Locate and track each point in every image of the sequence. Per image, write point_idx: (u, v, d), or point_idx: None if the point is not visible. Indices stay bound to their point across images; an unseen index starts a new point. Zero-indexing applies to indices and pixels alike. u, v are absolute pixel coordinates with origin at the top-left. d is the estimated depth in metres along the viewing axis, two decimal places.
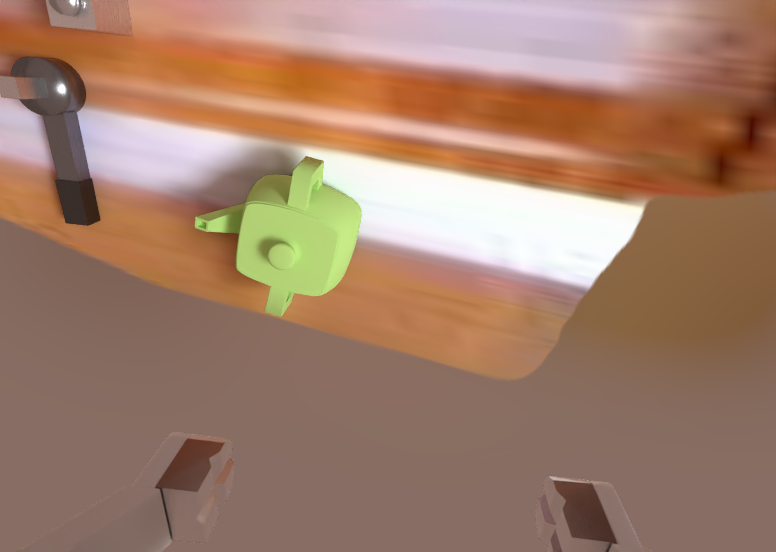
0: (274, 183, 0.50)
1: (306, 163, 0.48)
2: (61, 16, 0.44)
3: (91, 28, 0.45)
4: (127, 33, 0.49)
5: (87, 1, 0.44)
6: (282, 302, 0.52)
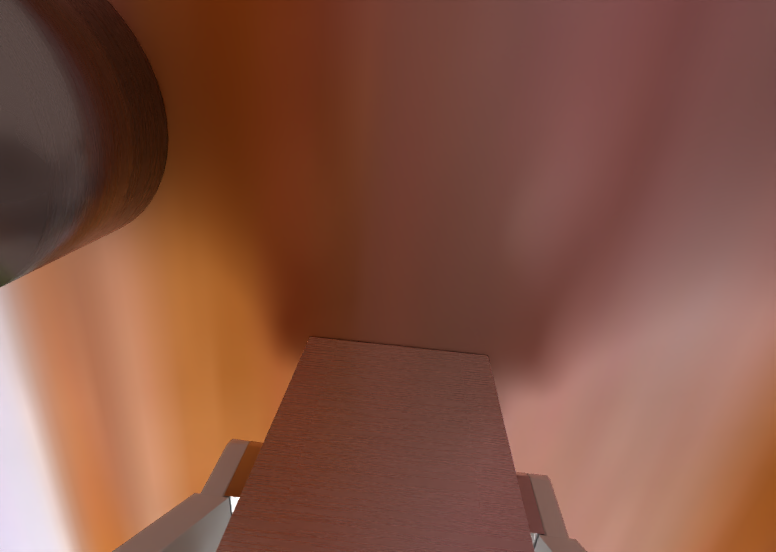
0: None
1: None
2: None
3: None
4: None
5: None
6: None
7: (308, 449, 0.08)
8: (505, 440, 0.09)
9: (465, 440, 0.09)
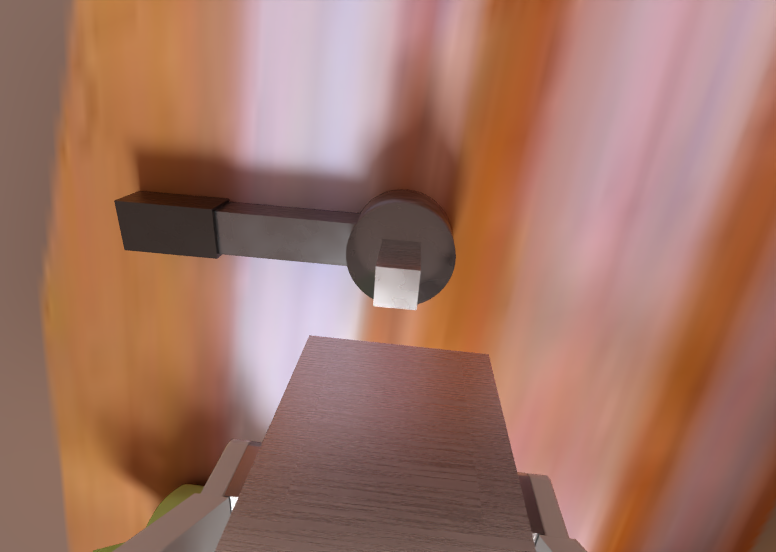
0: None
1: None
2: None
3: None
4: None
5: None
6: None
7: (308, 448, 0.08)
8: (506, 439, 0.09)
9: (466, 439, 0.09)
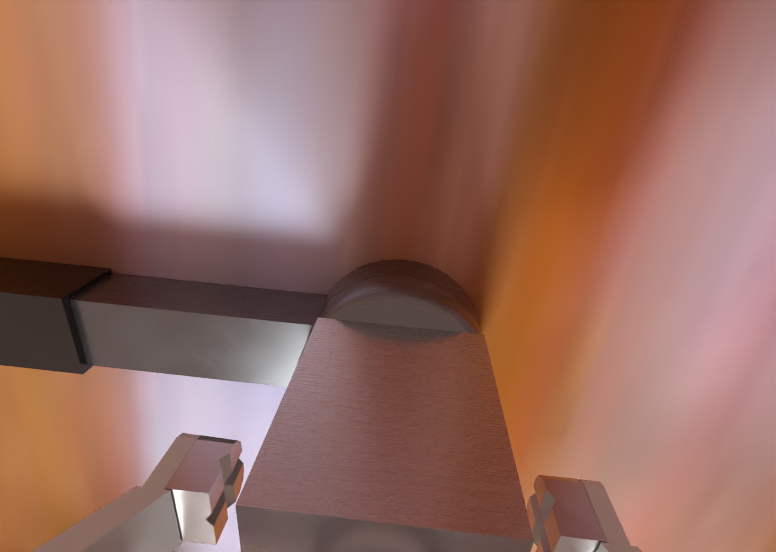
0: None
1: None
2: None
3: None
4: None
5: None
6: None
7: (319, 412, 0.09)
8: (499, 406, 0.10)
9: (462, 405, 0.10)
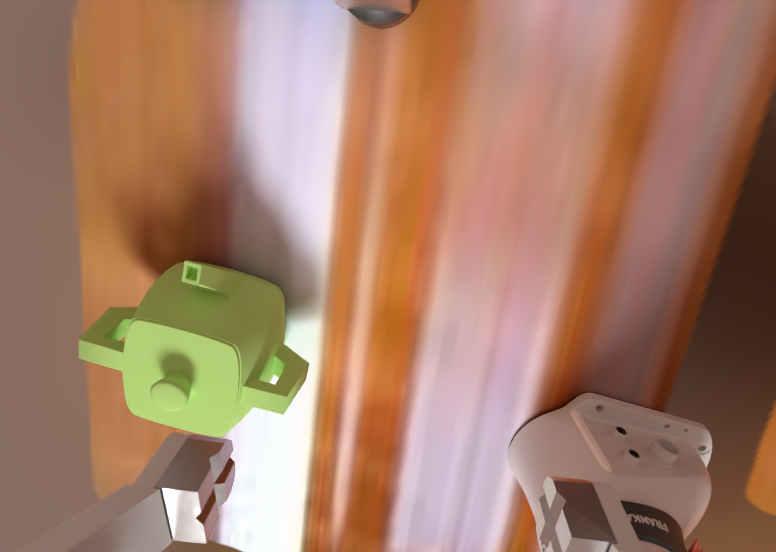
0: (271, 335, 0.40)
1: (299, 381, 0.40)
2: None
3: None
4: (341, 6, 0.30)
5: None
6: (102, 363, 0.37)
7: None
8: None
9: None
